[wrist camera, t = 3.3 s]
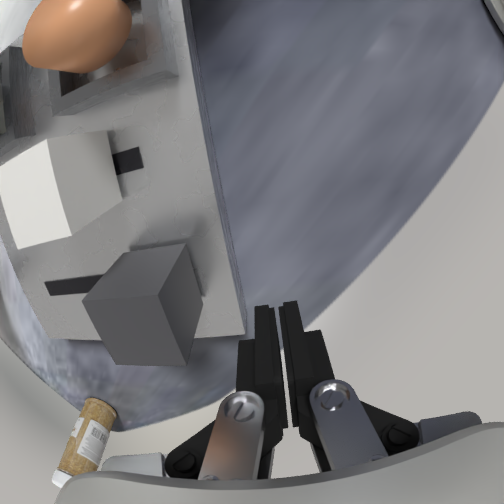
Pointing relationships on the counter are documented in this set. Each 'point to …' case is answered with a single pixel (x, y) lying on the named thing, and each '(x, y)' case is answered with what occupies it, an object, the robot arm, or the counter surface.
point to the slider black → (147, 307)
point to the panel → (127, 170)
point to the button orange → (76, 34)
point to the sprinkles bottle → (86, 441)
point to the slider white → (58, 187)
